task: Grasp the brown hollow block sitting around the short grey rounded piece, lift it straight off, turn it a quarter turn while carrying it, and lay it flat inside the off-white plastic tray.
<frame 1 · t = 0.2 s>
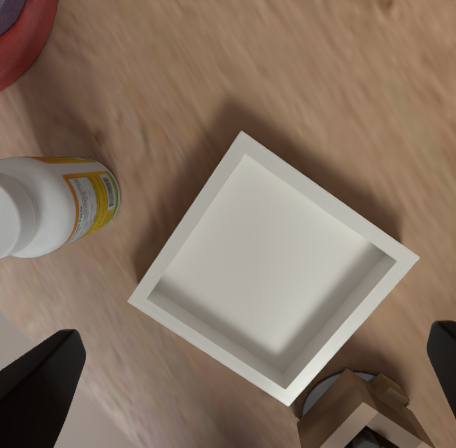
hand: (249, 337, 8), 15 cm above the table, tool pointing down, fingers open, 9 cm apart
tray: (265, 268, 23), on the table
brown hollow block: (353, 417, 25), resting on grey rounded piece
supplement bottle: (88, 194, 23), on the table
grey rounded piece: (352, 414, 26), on the table
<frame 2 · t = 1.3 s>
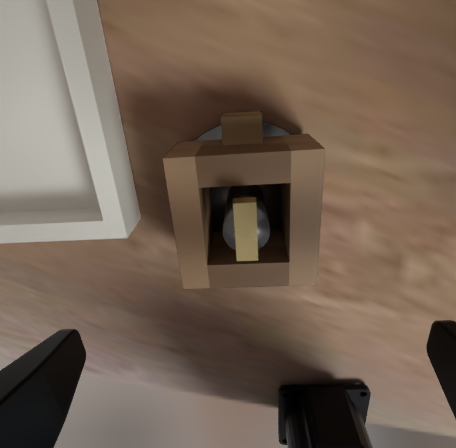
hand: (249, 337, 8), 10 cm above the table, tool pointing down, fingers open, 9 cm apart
brown hollow block: (245, 198, 17), resting on grey rounded piece
grey rounded piece: (245, 196, 17), on the table
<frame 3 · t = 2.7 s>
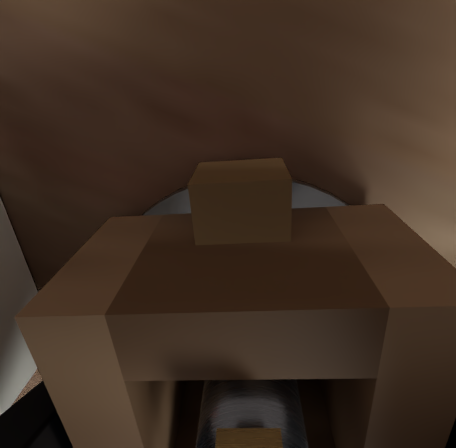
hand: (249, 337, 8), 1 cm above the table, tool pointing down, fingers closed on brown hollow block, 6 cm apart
brown hollow block: (248, 317, 9), resting on grey rounded piece, touching gripper
grey rounded piece: (248, 310, 9), on the table
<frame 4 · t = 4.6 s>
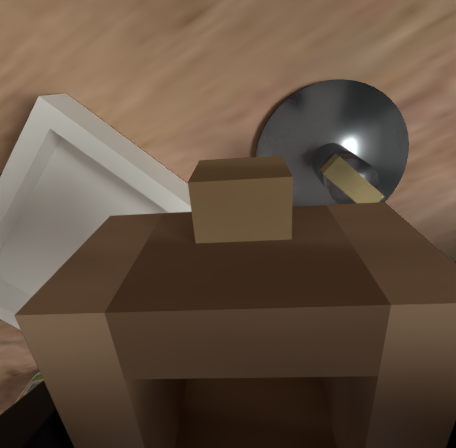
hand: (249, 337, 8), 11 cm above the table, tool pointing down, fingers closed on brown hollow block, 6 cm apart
tray: (116, 257, 20), on the table
brown hollow block: (249, 316, 9), point 10 cm above the table, touching gripper
grey rounded piece: (328, 160, 17), on the table
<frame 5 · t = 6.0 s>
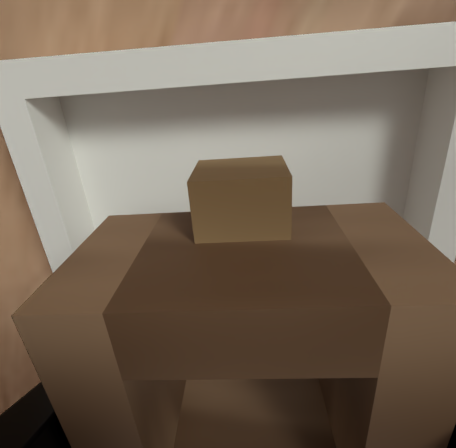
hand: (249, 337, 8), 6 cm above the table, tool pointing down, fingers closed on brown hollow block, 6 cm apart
tray: (245, 238, 13), on the table
brown hollow block: (248, 316, 9), point 5 cm above the table, touching gripper
when the fingers open (3 cm above the table, at t = 6.9 s): brown hollow block drops 1 cm, resting on tray.
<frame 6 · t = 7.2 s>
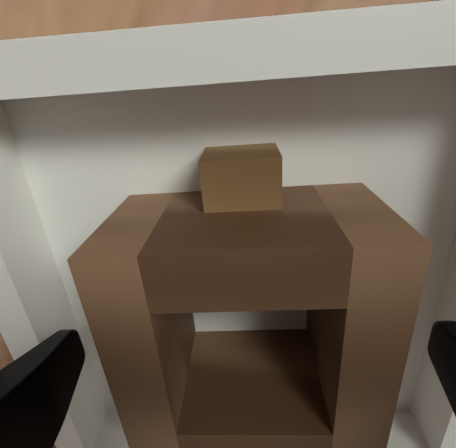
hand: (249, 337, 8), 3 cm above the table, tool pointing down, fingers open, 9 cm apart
tray: (247, 276, 11), on the table
brown hollow block: (247, 284, 10), point 1 cm above the table, touching tray
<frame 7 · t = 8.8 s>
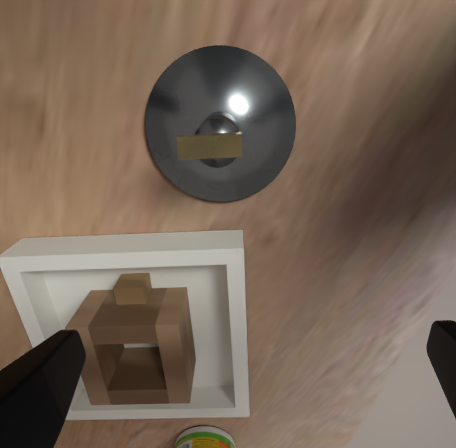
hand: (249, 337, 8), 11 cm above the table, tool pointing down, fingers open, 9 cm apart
tray: (148, 321, 23), on the table
brown hollow block: (146, 326, 22), point 1 cm above the table, touching tray
supplement bottle: (205, 440, 28), on the table
grey rounded piece: (220, 130, 17), on the table
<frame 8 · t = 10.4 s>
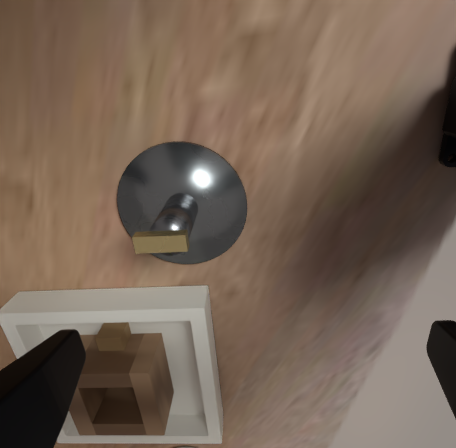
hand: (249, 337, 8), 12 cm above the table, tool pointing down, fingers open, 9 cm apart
tray: (130, 359, 25), on the table
brown hollow block: (128, 364, 25), point 1 cm above the table, touching tray
grey rounded piece: (182, 206, 20), on the table
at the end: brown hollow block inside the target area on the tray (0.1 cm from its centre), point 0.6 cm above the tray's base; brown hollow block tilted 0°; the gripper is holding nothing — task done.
